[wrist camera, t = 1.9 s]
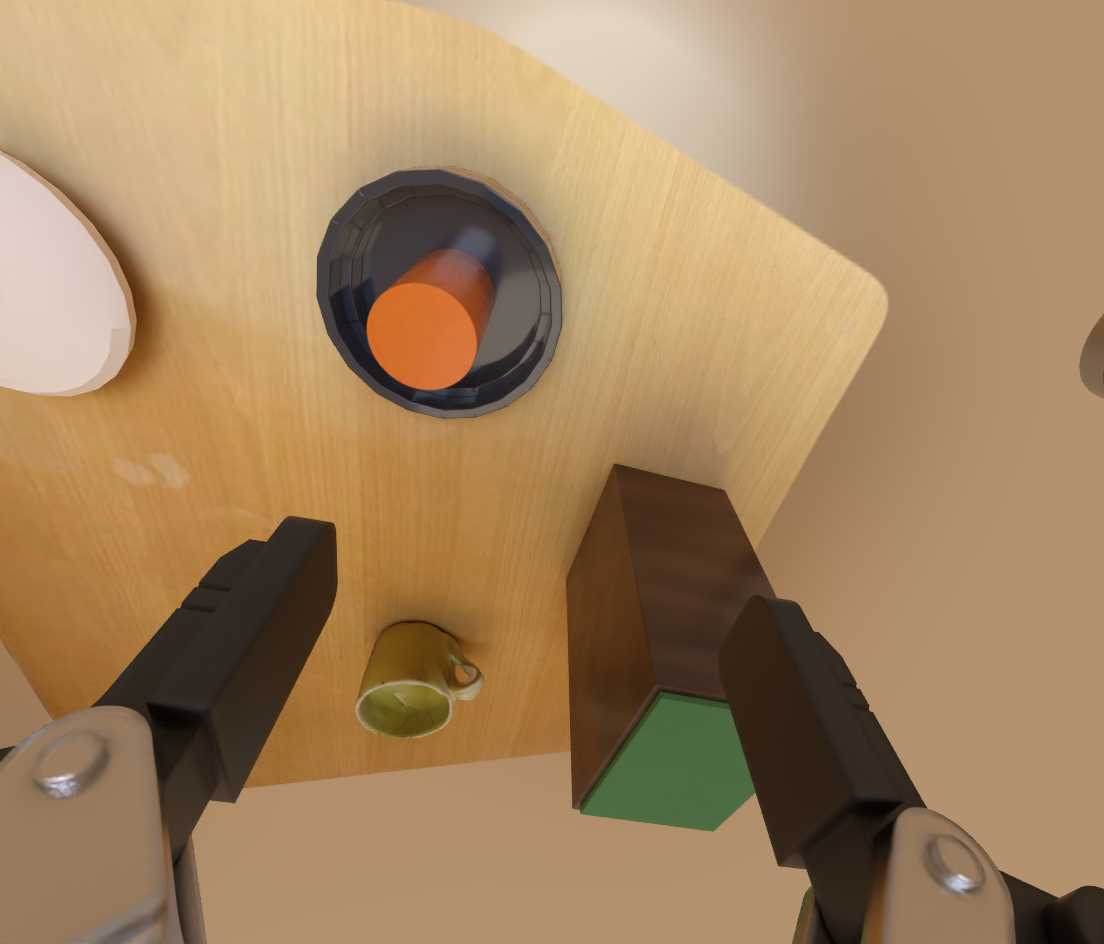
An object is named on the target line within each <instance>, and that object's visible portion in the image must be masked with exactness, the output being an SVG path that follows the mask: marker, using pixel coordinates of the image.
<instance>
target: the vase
mask: <svg viewBox="0 0 1104 944" xmlns="http://www.w3.org/2000/svg"><path fill="white" fill-rule="evenodd" d="M136 324H137V319H136V314H135V308H134V303H133V298H132V292H131V289H130V287H129V285H128V283H127V280H126V278H125V276H124V274H123V272H122V269H121V267H120V265H119V263H118V260H117V258H116V257H115V255H114V254H113V252H112V251H111V249H110V248H109V247H108V245H107V244H106V242H105V241H104V239H103V238H102V237H101V235H100V234H99V232H98V231H97V229H96V228H95V227H94V225H93V224H92V223H91V222H90V221H89V220H88V219H87V218H86V216H85V215H84V214H83V213H82V212H81V211H80V210H79V209H78V208H77V207H76V206H75V205H74V204H73V203H72V202H71V201H70V200H69V199H68V198H67V197H66V196H65V195H64V194H63V193H62V192H61V191H60V190H59V189H57V188H56V187H55V186H53V185H52V184H51V183H49V182H48V181H47V180H45V179H44V178H43V177H41V176H40V175H39V174H37V173H36V172H35V171H33V170H32V169H31V168H29V167H28V166H27V165H25V164H24V163H23V162H21V161H19V160H17V159H15V158H13V157H11V156H9V155H7V154H5V153H4V152H2V151H0V386H1V387H6V388H10V389H14V390H19V391H23V392H28V393H32V394H37V395H42V396H75V395H78V394H82V393H86V392H89V391H93V390H97V389H99V388H100V387H101V386H103V385H104V384H105V383H107V382H108V381H109V380H111V379H112V378H114V377H115V376H116V375H117V374H118V372H119V370H120V369H121V367H122V366H123V364H124V362H125V361H126V359H127V357H128V355H129V353H130V352H131V350H132V348H133V346H134V340H135V332H136Z"/></svg>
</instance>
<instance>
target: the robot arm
mask: <svg viewBox="0 0 1104 944" xmlns="http://www.w3.org/2000/svg"><path fill="white" fill-rule="evenodd" d="M337 584H338V576H337V544H336V528H335V525H334V523H332V522H326V521H320V520H314V519H308V518H302V517H296V516H288V517H286V518H285V519H284V520H283V521H282V522H281V524H280V525H279V526H278V528H277V529H276V530H275V532H274V533H273V534H272V536H271V537H270V538H269V540H268V541H267V542H264V541H258V540H251V539H250V540H248V541H246V542H245V543H243V544H241V545H240V546H238V547H237V548H235V549H233V550H232V551H230V552H228V553H227V554H225V555H224V556H222V557H220V558H219V560H218V561H217V562H216V563H215V564H214V565H213V567H212V568H211V569H210V570H209V571H208V573H207V574H206V575H205V576H204V577H203V578H202V580H201V581H200V582H199V586H198V587H195V588H194V589H193V590H192V591H191V593H190V594H189V595H188V596H187V597H186V598H185V600H184V601H183V602H182V606H181V608H180V609H179V608H177V609H176V610H175V611H174V613H173V614H172V615H171V616H170V617H169V618H168V620H167V621H166V622H165V623H164V624H163V626H162V627H161V628H160V629H159V630H158V631H157V633H156V634H155V635H154V636H153V637H152V639H151V640H150V641H149V642H148V643H147V644H146V646H145V647H144V648H143V649H142V650H141V652H140V653H139V654H138V655H137V656H136V657H135V659H134V660H133V661H132V662H131V663H130V664H129V666H128V667H127V668H126V669H125V670H124V672H123V673H122V674H121V675H120V676H119V677H118V679H117V680H116V681H115V682H114V683H113V685H112V686H111V687H110V688H109V689H108V690H107V692H106V693H105V694H104V695H103V696H102V697H101V698H100V699H99V700H98V701H97V702H96V703H95V704H93V705H92V706H91V707H90V708H87V709H83V710H80V711H76V712H73V713H70V714H68V715H65V716H63V717H60V718H58V719H56V720H54V721H52V722H51V723H49V724H47V725H45V726H43V727H42V728H40V729H38V730H37V731H35V732H33V733H32V734H31V735H29V736H28V737H27V738H26V739H24V740H23V741H22V742H20V743H19V744H18V745H16V746H13V747H8V748H3V749H0V944H207V940H206V933H205V927H204V918H203V911H202V904H201V897H200V890H199V882H198V875H197V868H196V861H195V854H194V847H193V840H192V834H191V833H192V831H193V829H194V828H195V826H196V824H197V822H198V820H199V818H200V816H201V815H202V813H203V811H204V809H205V807H206V806H207V803H208V802H209V800H212V801H221V802H231V803H235V802H236V800H237V798H238V796H239V794H240V792H241V790H242V788H243V786H244V784H245V782H246V780H247V778H248V776H249V774H250V772H251V770H252V768H253V766H254V764H255V762H256V760H257V758H258V756H259V754H260V752H261V750H262V748H263V746H264V745H265V743H266V741H267V739H268V737H269V735H270V733H271V731H272V729H273V727H274V725H275V723H276V721H277V719H278V717H279V715H280V713H281V711H282V709H283V707H284V705H285V703H286V701H287V699H288V697H289V695H290V693H291V691H292V689H293V687H294V685H295V683H296V681H297V679H298V677H299V675H300V673H301V671H302V669H303V667H304V665H305V663H306V661H307V659H308V657H309V655H310V653H311V651H312V649H313V647H314V645H315V643H316V641H317V639H318V637H319V635H320V633H321V631H322V629H323V627H324V625H325V623H326V621H327V619H328V617H329V615H330V613H331V610H332V607H333V604H334V601H335V597H336V592H337ZM718 666H719V674H720V678H721V681H722V684H723V687H724V691H725V694H726V697H727V700H728V704H729V707H730V710H731V714H732V717H733V720H734V723H735V727H736V730H737V733H738V736H739V740H740V743H741V746H742V749H743V753H744V756H745V759H746V762H747V766H748V769H749V772H750V776H751V779H752V782H753V785H754V789H755V792H756V795H757V798H758V801H759V805H760V808H761V811H762V815H763V818H764V821H765V824H766V827H767V831H768V834H769V837H770V841H771V844H772V847H773V851H774V854H775V857H776V860H777V864H778V866H781V867H791V868H799V869H807V872H808V875H809V878H810V881H811V884H812V886H811V887H810V888H809V889H808V890H807V891H806V893H805V895H804V898H803V902H802V906H801V910H800V914H799V918H798V922H797V926H796V930H795V934H794V938H793V942H792V944H1104V889H1103V888H1099V887H1096V886H1084V887H1080V888H1078V889H1076V890H1074V891H1072V892H1070V893H1068V894H1066V895H1065V896H1063V897H1061V898H1058V897H1055V896H1053V895H1051V894H1049V893H1047V892H1045V891H1043V890H1040V889H1038V888H1036V887H1034V886H1032V885H1030V884H1028V883H1025V882H1023V881H1021V880H1019V879H1016V878H1015V877H1013V876H1010V875H1008V874H1006V873H1004V872H1002V871H1000V870H998V868H997V867H996V865H995V864H994V862H993V861H992V860H991V858H990V857H989V856H988V854H987V853H986V852H985V851H984V849H983V848H982V847H981V846H980V845H979V844H978V843H977V842H976V841H975V840H974V839H973V838H972V837H971V836H970V835H969V834H968V833H967V832H966V831H964V830H963V829H962V828H961V827H960V826H958V825H957V824H956V823H954V822H953V821H951V820H950V819H948V818H946V817H945V816H943V815H941V814H939V813H937V812H935V811H932V810H929V809H927V807H926V805H925V804H924V802H923V800H922V799H921V797H920V795H919V793H918V792H917V790H916V788H915V786H914V784H913V783H912V781H911V779H910V777H909V776H908V774H907V772H906V770H905V768H904V767H903V765H902V763H901V762H900V759H899V758H898V756H897V754H896V752H895V751H894V749H893V747H892V745H891V743H890V742H889V740H888V738H887V736H886V735H885V733H884V731H883V729H882V727H881V726H880V724H879V722H878V720H877V719H876V717H875V715H874V713H873V712H870V711H869V704H868V703H867V701H866V699H865V697H864V696H863V694H862V692H861V690H860V689H857V687H856V684H857V683H856V681H855V679H854V678H853V676H852V674H851V672H850V670H849V669H848V667H847V665H846V663H845V662H844V660H843V658H842V657H841V655H840V654H839V653H838V652H837V651H836V650H835V649H834V648H833V647H832V646H831V645H830V644H829V643H828V641H827V640H826V639H825V638H824V637H823V636H822V635H821V634H820V633H819V632H814V631H813V629H812V627H811V626H810V624H809V622H808V620H807V618H806V616H805V615H804V612H803V611H802V609H801V607H800V606H799V605H798V604H797V603H796V602H794V601H791V600H785V599H779V598H773V597H767V596H761V595H753V596H752V597H751V598H749V600H748V601H747V603H746V604H745V606H744V608H743V609H742V611H741V613H740V614H739V616H738V618H737V619H736V621H735V623H734V624H733V626H732V628H731V629H730V631H729V633H728V634H727V636H726V638H725V639H724V641H723V643H722V645H721V648H720V652H719V660H718Z"/></svg>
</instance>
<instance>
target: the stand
mask: <svg viewBox="0 0 1104 944" xmlns="http://www.w3.org/2000/svg"><path fill="white" fill-rule="evenodd" d="M566 589H567V626H568V663H569V700H570V737H571V772H572V808H573V809H578V810H580V807H581V806H582V804H583V803H584V801H585V800H586V798H587V797H588V796H589V794H590V793H591V791H592V790H593V788H594V787H595V785H596V784H597V782H598V781H599V780H600V778H601V777H602V775H603V774H604V772H605V771H606V769H607V768H608V766H609V765H610V764H611V762H612V761H613V759H614V758H615V756H616V755H617V753H618V752H619V750H620V749H621V748H622V746H623V745H624V743H625V742H626V740H627V739H628V737H629V736H630V735H631V733H632V732H633V730H634V729H635V727H636V726H637V724H638V723H639V721H640V720H641V719H642V717H643V716H644V714H645V713H646V711H647V710H648V708H649V707H650V705H651V704H652V703H653V701H654V700H655V698H656V697H657V695H658V694H659V692H667V693H672V694H678V695H684V696H690V697H695V698H701V699H707V700H713V701H718V702H724V703H728V700H727V697H726V694H725V691H724V687H723V684H722V681H721V678H720V674H719V666H718V660H719V652H720V648H721V645H722V643H723V641H724V639H725V638H726V636H727V634H728V633H729V631H730V629H731V628H732V626H733V624H734V623H735V621H736V619H737V618H738V616H739V614H740V613H741V611H742V609H743V608H744V606H745V604H746V603H747V601H748V600H749V598H751V597H752V596H753V595H761V596H767V597H773V598H777V597H776V595H775V593H774V591H773V589H772V587H771V585H770V583H769V581H768V578H767V576H766V574H765V572H764V570H763V568H762V566H761V564H760V562H759V560H758V558H757V556H756V554H755V552H754V550H753V547H752V545H751V543H750V541H749V539H748V537H747V535H746V533H745V531H744V529H743V527H742V525H741V523H740V521H739V519H738V516H737V514H736V512H735V510H734V508H733V506H732V504H731V502H730V500H729V498H728V496H727V494H726V492H725V490H721V489H717V488H713V487H708V486H704V485H700V484H696V483H692V482H688V481H684V480H680V479H675V478H671V477H667V476H663V475H659V474H655V473H651V472H647V471H642V470H638V469H634V468H630V467H626V466H622V465H618V464H614V467H613V469H612V471H611V474H610V476H609V479H608V481H607V483H606V486H605V488H604V490H603V493H602V495H601V498H600V500H599V502H598V505H597V507H596V510H595V512H594V514H593V517H592V519H591V522H590V524H589V526H588V529H587V531H586V534H585V536H584V538H583V541H582V543H581V545H580V548H579V550H578V553H577V555H576V557H575V560H574V562H573V565H572V567H571V569H570V572H569V574H568V577H567V579H566Z"/></svg>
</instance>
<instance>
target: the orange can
mask: <svg viewBox="0 0 1104 944" xmlns="http://www.w3.org/2000/svg"><path fill="white" fill-rule="evenodd" d="M494 301H495V294H494V287H493V283H492V281H491V278H490V276H489V274H488V272H487V271H486V269H485V268H484V267H483V265H482V264H481V263H480V262H479V261H478V260H477V259H475V258H474V257H472V256H471V255H469V254H467V253H465V252H463V251H460V250H456V249H449V248H446V249H438V250H435V251H432V252H430V253H428V254H426V255H425V256H424V257H422V258H421V259H420V260H419V261H418V262H417V263H416V264H415V265H413V266H412V267H411V268H410V269H409V270H408V271H407V272H406V273H405V274H403V275H402V276H401V277H400V278H399V279H398V280H397V281H396V282H395V283H394V284H392V285H391V286H390V287H389V288H388V289H387V290H386V291H385V292H384V293H383V294H381V295H380V297H379V298H378V299H377V300H376V301H375V303H374V304H373V306H372V308H371V310H370V313H369V316H368V321H367V337H368V341H369V345H370V348H371V350H372V353H373V355H374V357H375V358H376V360H377V361H378V363H379V364H380V366H381V367H382V368H383V369H384V370H385V371H386V372H387V373H388V374H389V375H390V376H392V377H393V378H395V379H396V380H398V381H399V382H401V383H403V384H405V385H407V386H410V387H413V388H417V389H422V390H437V389H443V388H446V387H449V386H451V385H453V384H455V383H457V382H458V381H460V380H461V379H462V378H463V377H464V376H465V375H466V374H467V373H468V372H469V370H470V369H471V367H472V365H473V363H474V361H475V358H476V355H477V352H478V350H479V347H480V344H481V341H482V338H483V336H484V333H485V330H486V327H487V324H488V322H489V319H490V316H491V313H492V310H493V307H494Z"/></svg>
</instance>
